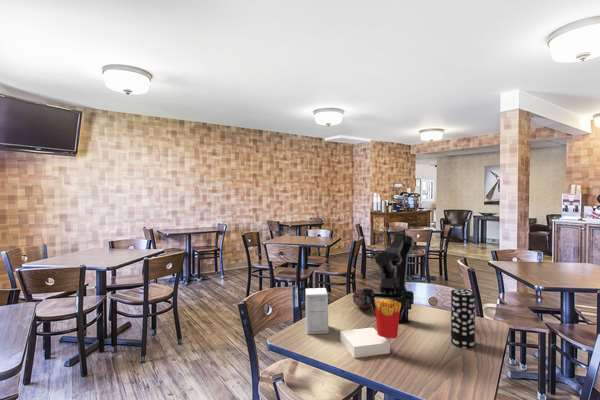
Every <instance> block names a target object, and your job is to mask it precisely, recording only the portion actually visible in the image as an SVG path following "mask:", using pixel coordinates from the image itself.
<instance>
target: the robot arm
mask: <svg viewBox="0 0 600 400" xmlns="http://www.w3.org/2000/svg"><path fill="white" fill-rule="evenodd" d="M414 246H415V241H414V238H413V237H412V236H411V235H407V233H403V232H396V233H394V236H393V240H392V241H391V244H390V246H389V247H388V248H386V249H384V250H383V251H381V253H379V254H378V255H377V256H375V259H374V261H375V263H376V266H377V269H378V270H379V272H380V278H379V279H380V283H379V292H378V291H377V292H376V291H374V288H367V287H364V288H362V289H363V291H362V295H363V300H364V301H367V303H370V305H371V306H370V307H371V309H372V312H373V315H374V318H376V313H375V308H376V298H377V299H378V298H379V299H390V300H392V299H393V301H394V300H396V301H397V302H398V303H399V302H400V303H401V308H400V315H399V324H407V323H411V320H409V311H410V310H412V305H414V299H415V295H414V293H415V292H413V291H412V290H408V289H407V286H406V285H407V274H408V273H407V272H408V262H409V256H410V254H411V253H412V252H413V248H414ZM395 267H396V268H395ZM397 302H396V303H397ZM393 305H394V304H393Z"/></svg>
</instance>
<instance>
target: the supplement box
mask: <svg viewBox="0 0 600 400" xmlns="http://www.w3.org/2000/svg"><path fill="white" fill-rule="evenodd" d="M304 295H305V331H306V334H307V335H318V334H319V335H320V334H323V335H324V334H329V301H328V300H329V298H328V297H329V295H328V291H327V288H326V287H318V288H317V287H316V288H305V294H304Z"/></svg>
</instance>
